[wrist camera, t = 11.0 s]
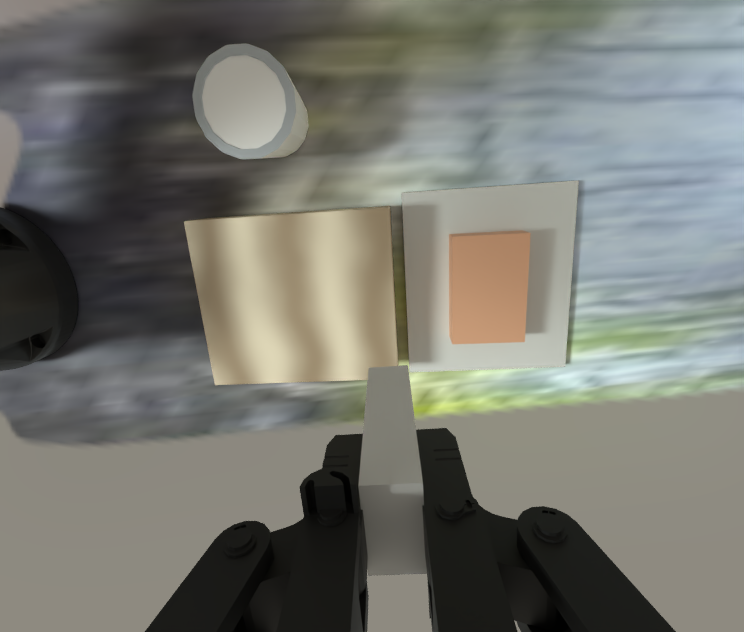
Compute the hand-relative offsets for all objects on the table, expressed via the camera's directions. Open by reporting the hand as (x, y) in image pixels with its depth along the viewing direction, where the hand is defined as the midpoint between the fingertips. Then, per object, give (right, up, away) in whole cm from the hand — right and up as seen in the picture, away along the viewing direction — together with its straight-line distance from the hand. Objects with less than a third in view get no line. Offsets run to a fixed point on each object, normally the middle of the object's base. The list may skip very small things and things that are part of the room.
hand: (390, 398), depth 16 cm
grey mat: (+9, +6, +20) cm, 23 cm away
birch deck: (-7, +5, +21) cm, 23 cm away
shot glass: (-9, +19, +17) cm, 27 cm away
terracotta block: (+9, +5, +17) cm, 20 cm away
